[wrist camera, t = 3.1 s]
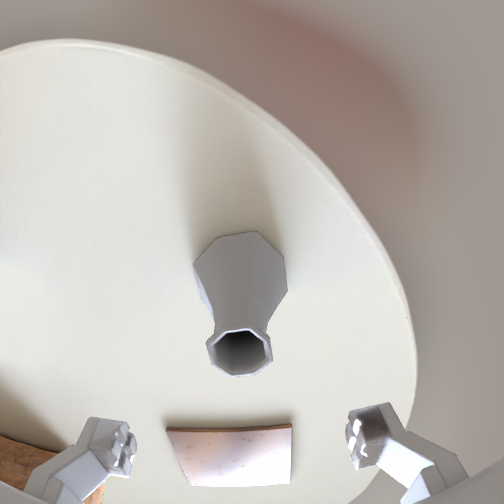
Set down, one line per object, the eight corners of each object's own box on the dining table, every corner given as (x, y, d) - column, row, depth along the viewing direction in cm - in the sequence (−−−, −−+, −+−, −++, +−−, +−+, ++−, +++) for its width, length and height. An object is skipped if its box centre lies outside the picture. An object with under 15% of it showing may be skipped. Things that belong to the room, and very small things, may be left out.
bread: (118, 489, 35) (101, 553, 21) (15, 461, 36) (-7, 505, 22) (84, 451, 32) (55, 524, 18) (-16, 423, 32) (-46, 469, 18)
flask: (261, 213, 22) (275, 257, 13) (301, 293, 24) (333, 372, 15) (177, 257, 23) (137, 324, 14) (223, 329, 25) (215, 417, 16)
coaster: (291, 423, 29) (292, 427, 29) (289, 479, 33) (289, 482, 33) (166, 427, 29) (165, 430, 28) (191, 482, 33) (191, 485, 33)
